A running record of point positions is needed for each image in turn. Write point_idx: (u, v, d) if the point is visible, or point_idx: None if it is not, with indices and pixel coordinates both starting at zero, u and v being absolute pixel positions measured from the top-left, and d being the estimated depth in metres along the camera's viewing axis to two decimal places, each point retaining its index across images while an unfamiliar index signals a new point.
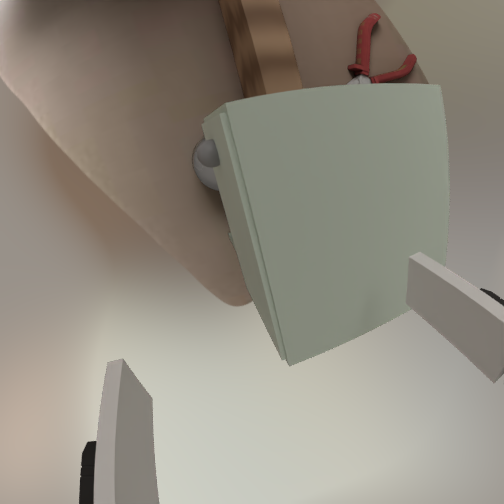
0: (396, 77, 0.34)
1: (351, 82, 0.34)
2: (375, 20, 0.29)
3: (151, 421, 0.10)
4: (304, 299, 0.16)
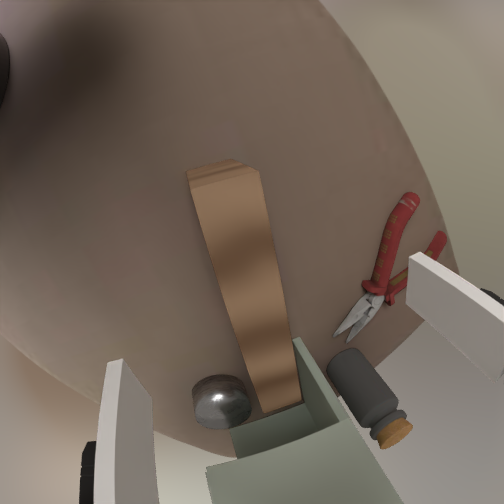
0: None
1: (362, 304, 0.33)
2: (411, 212, 0.29)
3: (151, 421, 0.10)
4: None
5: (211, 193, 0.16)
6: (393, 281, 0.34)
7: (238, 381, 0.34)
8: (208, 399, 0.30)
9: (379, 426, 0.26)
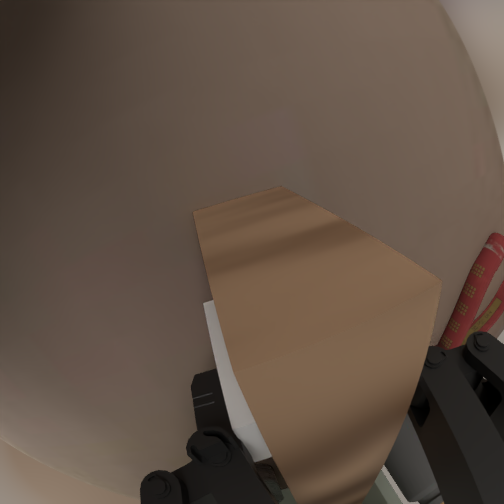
0: None
1: None
2: (500, 262, 0.17)
3: None
4: None
5: (308, 371, 0.04)
6: None
7: (266, 469, 0.22)
8: None
9: None
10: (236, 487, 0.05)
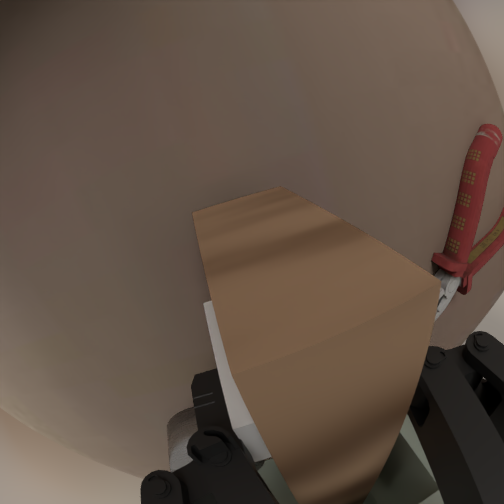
0: None
1: None
2: (496, 148, 0.14)
3: None
4: None
5: (306, 372, 0.04)
6: (468, 257, 0.20)
7: None
8: (185, 452, 0.15)
9: None
10: (236, 487, 0.05)
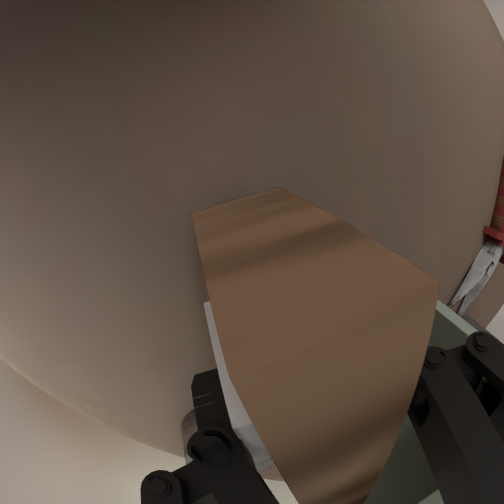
0: None
1: (484, 258, 0.20)
2: None
3: None
4: None
5: (304, 374, 0.04)
6: None
7: None
8: None
9: None
10: (236, 487, 0.05)
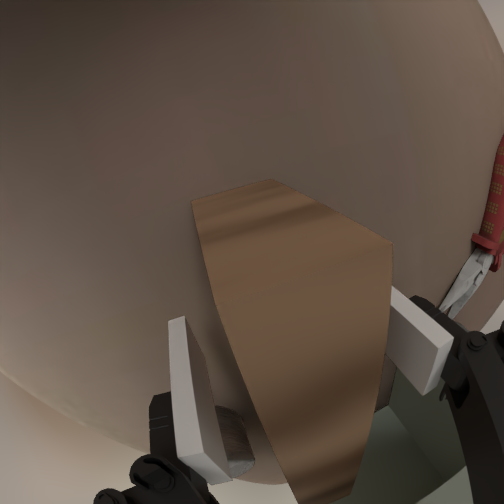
0: None
1: (472, 267, 0.20)
2: None
3: (208, 377, 0.12)
4: None
5: (276, 310, 0.06)
6: None
7: (228, 414, 0.19)
8: None
9: None
10: None
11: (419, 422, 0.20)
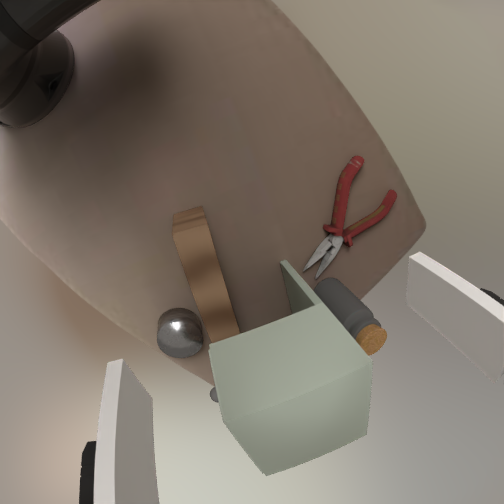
0: (371, 225, 0.44)
1: (324, 244, 0.44)
2: (357, 169, 0.40)
3: (151, 421, 0.10)
4: (271, 459, 0.26)
5: (183, 236, 0.30)
6: (351, 227, 0.45)
7: (190, 313, 0.44)
8: (163, 325, 0.40)
9: (355, 330, 0.37)
10: None
11: None
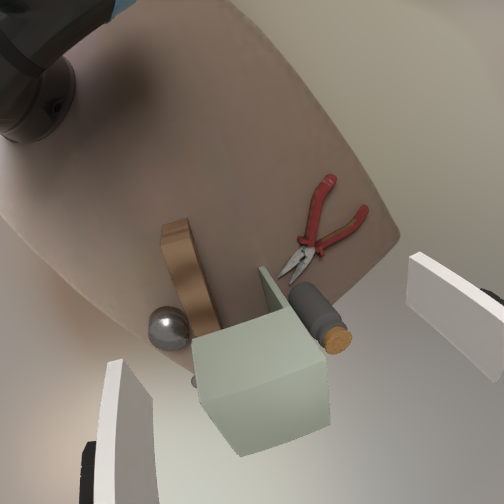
0: None
1: (298, 254, 0.50)
2: (329, 187, 0.45)
3: (151, 421, 0.10)
4: (243, 440, 0.32)
5: (169, 247, 0.36)
6: (323, 239, 0.50)
7: (178, 311, 0.49)
8: (154, 322, 0.45)
9: (322, 330, 0.42)
10: None
11: None
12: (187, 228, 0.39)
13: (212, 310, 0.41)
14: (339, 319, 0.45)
